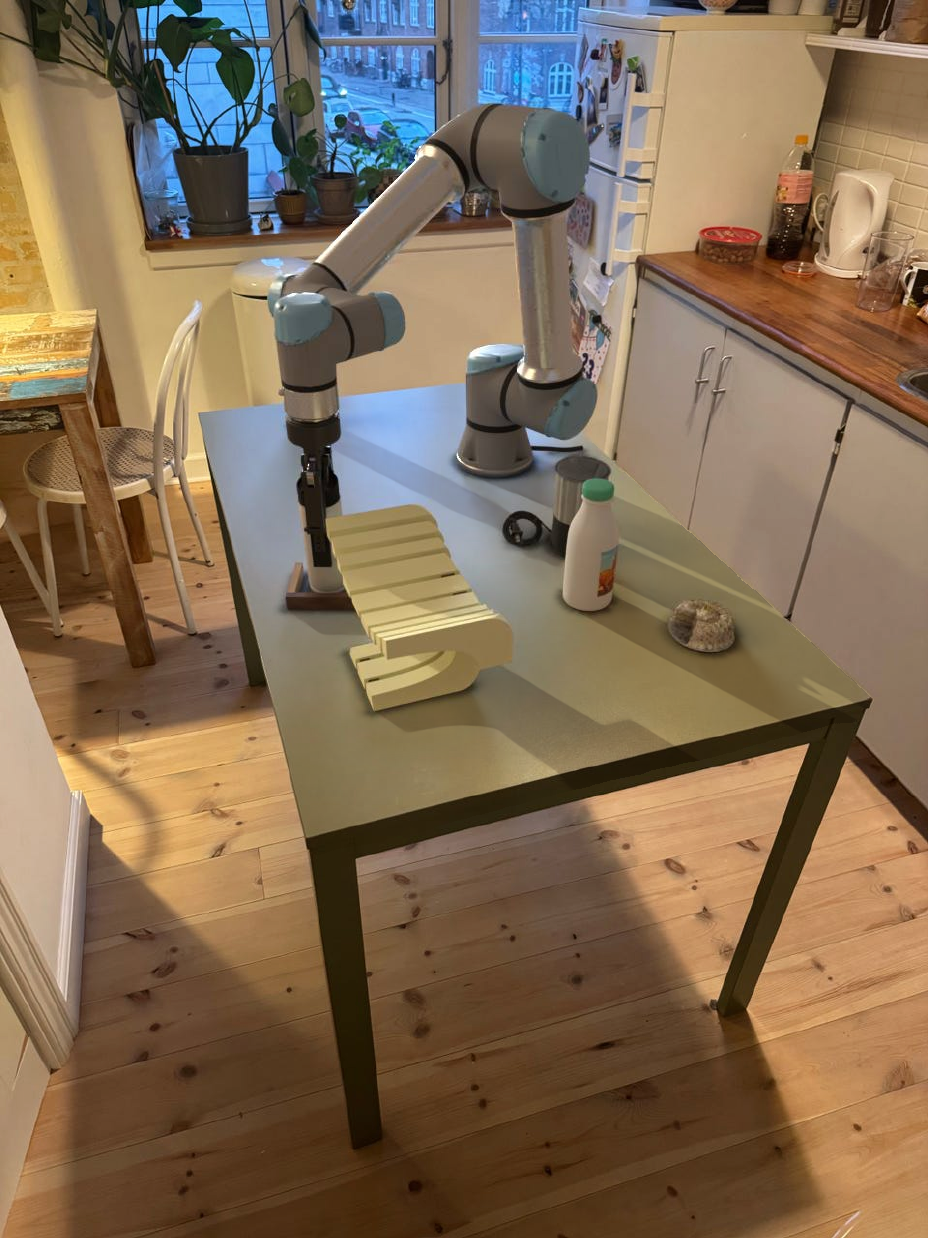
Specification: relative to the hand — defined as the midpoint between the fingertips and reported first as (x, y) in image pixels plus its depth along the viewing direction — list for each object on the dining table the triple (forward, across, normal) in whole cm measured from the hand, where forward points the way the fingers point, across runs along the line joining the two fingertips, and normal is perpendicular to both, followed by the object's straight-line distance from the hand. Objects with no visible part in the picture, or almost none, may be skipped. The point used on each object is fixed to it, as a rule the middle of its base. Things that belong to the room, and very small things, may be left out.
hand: (326, 552), depth 136 cm
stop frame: (+7, 0, 0) cm, 7 cm away
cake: (+7, +11, +57) cm, 58 cm away
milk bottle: (+7, +2, +41) cm, 41 cm away
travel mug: (+7, -1, 0) cm, 7 cm away
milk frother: (+7, -15, +37) cm, 40 cm away
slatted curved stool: (+7, +20, +15) cm, 25 cm away
